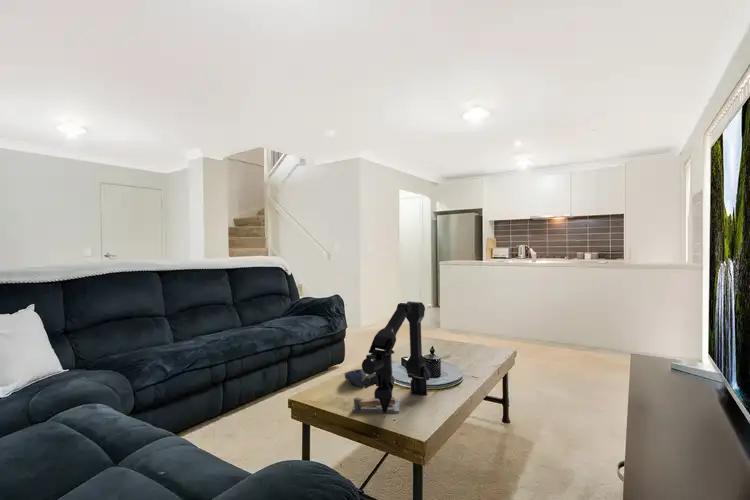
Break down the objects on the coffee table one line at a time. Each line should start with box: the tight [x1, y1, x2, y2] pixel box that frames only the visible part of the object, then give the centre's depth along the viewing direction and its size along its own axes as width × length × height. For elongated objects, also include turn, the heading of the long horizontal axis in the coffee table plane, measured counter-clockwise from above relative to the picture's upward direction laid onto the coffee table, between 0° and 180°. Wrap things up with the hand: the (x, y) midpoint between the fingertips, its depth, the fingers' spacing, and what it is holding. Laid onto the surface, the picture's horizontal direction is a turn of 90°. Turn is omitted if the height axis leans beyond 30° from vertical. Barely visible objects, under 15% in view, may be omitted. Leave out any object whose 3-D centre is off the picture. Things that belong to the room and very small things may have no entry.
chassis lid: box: [351, 397, 401, 414], centre depth 152 cm, size 18×11×1 cm, turn 83°
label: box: [364, 406, 378, 409], centre depth 151 cm, size 5×4×1 cm
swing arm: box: [353, 396, 396, 408], centre depth 150 cm, size 16×3×3 cm, turn 95°
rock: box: [344, 368, 367, 388], centre depth 178 cm, size 16×8×10 cm
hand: (385, 408), depth 144 cm, fingers open, 7 cm apart
